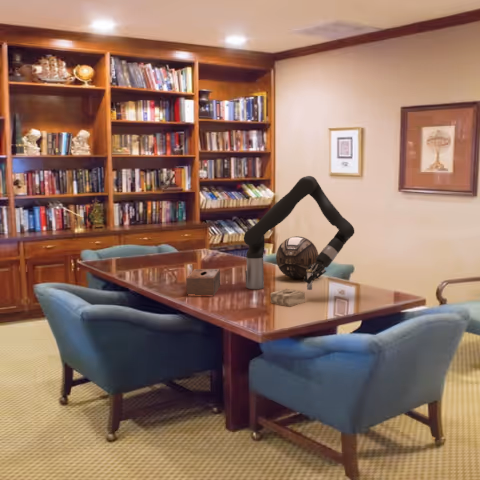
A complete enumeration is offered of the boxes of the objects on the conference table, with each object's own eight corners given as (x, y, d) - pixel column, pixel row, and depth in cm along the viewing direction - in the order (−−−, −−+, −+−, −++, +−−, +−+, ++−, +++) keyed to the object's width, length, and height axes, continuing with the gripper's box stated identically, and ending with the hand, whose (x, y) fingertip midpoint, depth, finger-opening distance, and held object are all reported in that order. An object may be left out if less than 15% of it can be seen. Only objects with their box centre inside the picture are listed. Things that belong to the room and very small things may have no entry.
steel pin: (305, 289, 306) (305, 270, 304) (309, 288, 308) (309, 269, 306) (310, 290, 303) (310, 270, 302) (314, 289, 306) (314, 269, 304)
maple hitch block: (270, 302, 301) (270, 292, 300) (286, 298, 309) (286, 288, 309) (289, 306, 292) (289, 296, 292) (304, 301, 301) (304, 292, 300)
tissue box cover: (213, 296, 318) (213, 278, 317) (186, 296, 319) (186, 278, 318) (220, 286, 343) (219, 268, 342) (195, 286, 345) (194, 269, 343)
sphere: (324, 275, 365) (323, 234, 361) (311, 283, 342) (310, 240, 339) (285, 273, 375) (284, 233, 372) (270, 281, 353) (269, 238, 349)
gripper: (315, 249, 312) (294, 275, 309) (329, 253, 299) (308, 280, 296) (323, 258, 315) (303, 284, 312) (338, 263, 302) (317, 289, 299)
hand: (306, 282), depth 304 cm, fingers closed on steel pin, 2 cm apart
